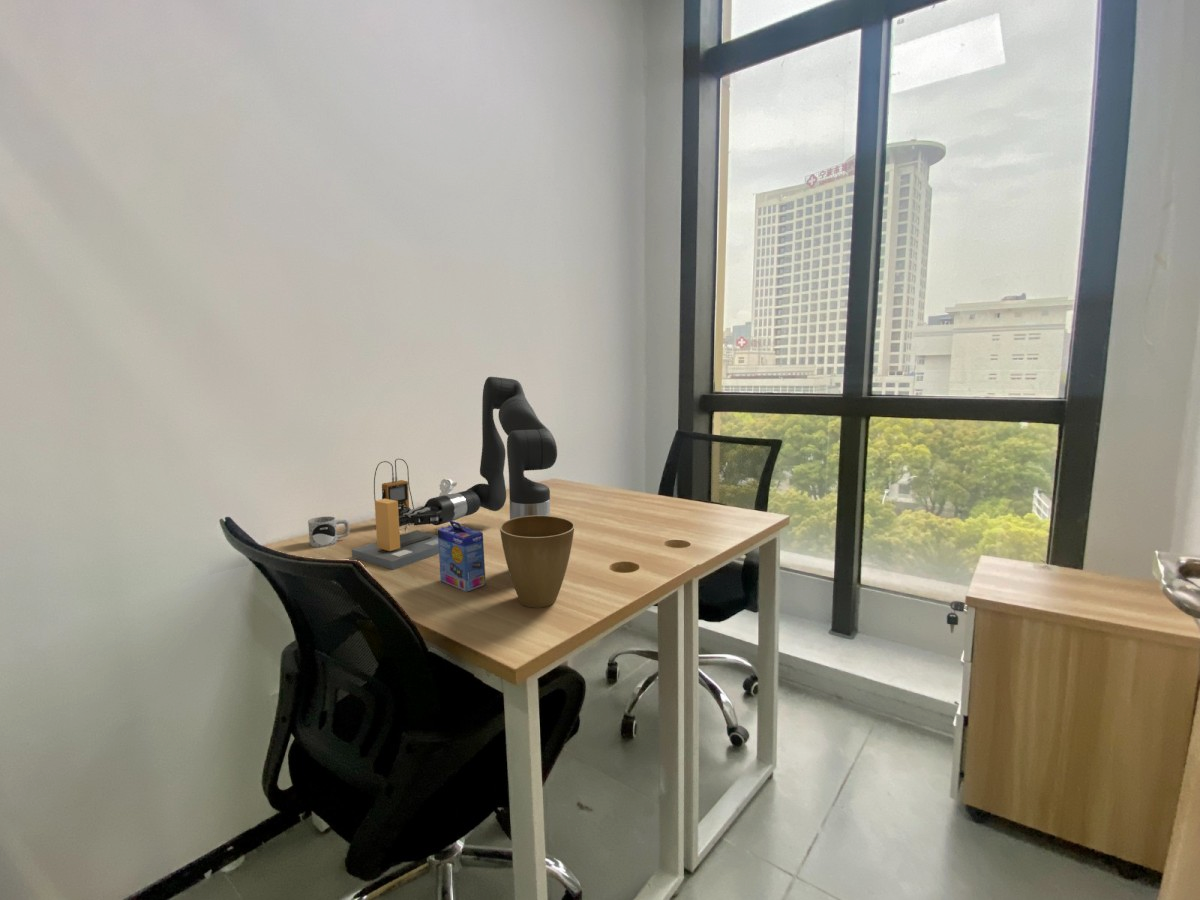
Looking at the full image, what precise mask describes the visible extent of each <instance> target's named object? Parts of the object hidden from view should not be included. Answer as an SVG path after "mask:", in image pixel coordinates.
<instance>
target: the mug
mask: <svg viewBox="0 0 1200 900" xmlns="http://www.w3.org/2000/svg"><path fill="white" fill-rule="evenodd" d="M307 524H308V525H307V526H308V535H309V547H312V548H326V547H330V546H334V545H336V544H337V543H338V540H340V539H343V538H345V537H348V536H349V535H350V524H349V521H348V520H346V519H336V517H335V516H328V515H327V516H319V517H318V516H317V517H314V518H313V517H312V518H310V519H308V522H307ZM340 524H343V525H344V528H345V531H344V532H343V533H338V532H337V525H340Z"/></svg>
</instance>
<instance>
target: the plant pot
mask: <svg viewBox="0 0 1200 900" xmlns="http://www.w3.org/2000/svg"><path fill="white" fill-rule="evenodd" d="M499 532H500V538H501V544H502V548H503V549H502V550H503V554H504V559H505V561H506V566H507V569H508V573H509V575H510V580H511V582H512V586H513V588H514V590H515V592H516V595H517V597H518V600H519V602H520V604H522V605H523V606H524V607H528V608H544V607H549V606H551V605H553V604H555V602H556V600H557V598H558V596H559V593H560V591H561V588H562V584H563V583H564V578H565V575H566V572H567V568H568V565H569V560H570V556H571V551H572V547H573V541H574V534H575V533H574V532H575V523H574V522H573V521H571V520H569V519H566V518H563V517H559V516H552V515H550V516H541V515H539V516H524V517H518V518H513V519H510V518H509V519H508V520H505V521H504V522H502V523H501V524H500V525H499Z"/></svg>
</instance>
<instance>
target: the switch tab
mask: <svg viewBox="0 0 1200 900" xmlns="http://www.w3.org/2000/svg"><path fill="white" fill-rule="evenodd" d="M374 515H375V529H376V542H377V548H380V549H384V550H387V551H392V550H396V549H399V548H400V535H401V534H400V530H399V529H400V527H399V513H398V501H394V500H390V499H382V498H381V499H377V500H376V501H375V500H374Z"/></svg>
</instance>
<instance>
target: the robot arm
mask: <svg viewBox="0 0 1200 900" xmlns="http://www.w3.org/2000/svg"><path fill="white" fill-rule="evenodd" d="M481 399H482V405H481V407H482V408H481V411H482V412H481V416H482V417H481V419H482V420H481V422H482V423H481V426H482V427H481V429H482V431H481V432H482V443H481V444H482V446H481V456H480V464H479V465H480V466H479V475H480V476H481V477H482V478H484V480H486V482H487V483H477V484H474V485H473V486H471V487H469V488H468V489H466V490H464V491H459V492H454V493H452V494H447V495H443V496H439V495H438V496H436V497H435V496H434V497H430V498H429V499H427V500H426V502H425V504H424V505H420V506H417V507H416V508H414V509H411V508H410V507H409V508H408V507H407V508H405V509H404V510H403V511H402V512H401V516H399V528H400V527H402V526H408V525H409V526H411V525H414V526H423V525H425V526H426V525H433V526H440V525H444V524H447V523H450V522H449V520H450V521H454V522H455V521H456V520H458V519H460V518H464V517H467V516H470V515H473V514H475V513H477V512H478V511H479V509H480V507H481V508H484V509H485V510H486V509H487V510H488V511H491V512H497V511H500V510H502V508H503V507H504V505H505V503H506V501H507V489H506V481H505V474H504V470H505V462H506V457H507V466H508V467H507V468H508V486H509V487H508V488H509V491H508V492H509V520H510V519H513V518H518V517H524V516H539V515H541V516H551V491H550V490H551V489H550V487H549V486H547V484H543V483H541V482H537V481H535V480H531V479H530V478H528V477H526V476H525V473H524V472H525V471H528V472H529V471H541V470H548V469H550V468H552V467H553V466H554V465H555V464H556V462H557V458H558V447H557V442H556V440H555V438H554V435H553V434H552V431H551V430H550V429H549V428H547V427H546V425H544V424H543V423H542V422H541V420H540V419H539V417H538V416H537V413H536V412H535V410H534V408H533V407H532V406H531V405H530V403H529V401H528V399H527V398H526V396H525V392H524V388H523V386H522V384H521V382H519V381H518V380H516V379H514V378H507V377H506V378H505V377H497V376H488V377H487V378H486V379H485V381H484V384H483V389H482V397H481ZM494 410H498V421H499V423H500V426H501V428H502V430H503V431H504V433H505V435H507V439H506V448H505V445H504V441H503V439H502V437H501V435H500V433H499V431H498V429H497V426H496V423H495V419H494ZM506 454H507V456H506Z"/></svg>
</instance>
